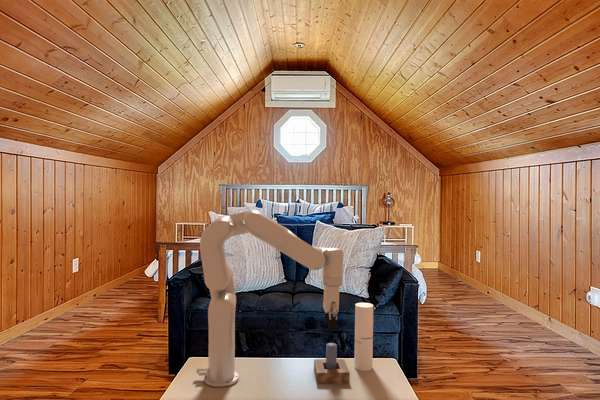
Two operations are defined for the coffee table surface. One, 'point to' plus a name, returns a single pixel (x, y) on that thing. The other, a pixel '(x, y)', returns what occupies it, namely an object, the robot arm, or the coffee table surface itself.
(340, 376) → the socket block
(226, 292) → the robot arm
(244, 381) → the coffee table surface
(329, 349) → the peg
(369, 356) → the cylindrical container
